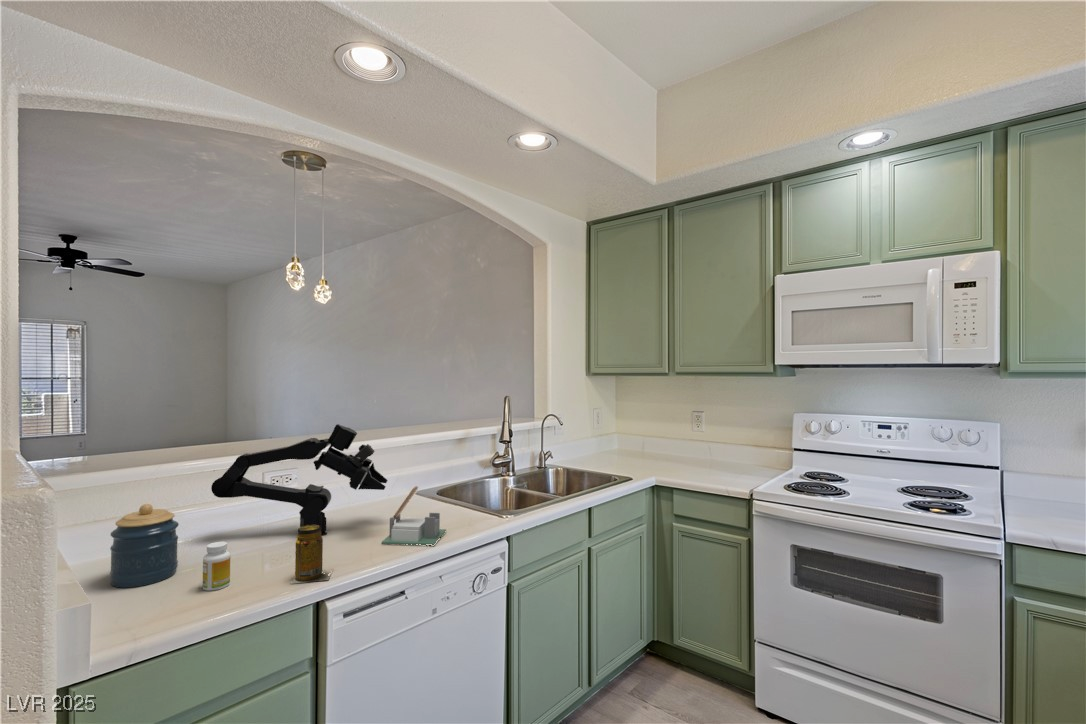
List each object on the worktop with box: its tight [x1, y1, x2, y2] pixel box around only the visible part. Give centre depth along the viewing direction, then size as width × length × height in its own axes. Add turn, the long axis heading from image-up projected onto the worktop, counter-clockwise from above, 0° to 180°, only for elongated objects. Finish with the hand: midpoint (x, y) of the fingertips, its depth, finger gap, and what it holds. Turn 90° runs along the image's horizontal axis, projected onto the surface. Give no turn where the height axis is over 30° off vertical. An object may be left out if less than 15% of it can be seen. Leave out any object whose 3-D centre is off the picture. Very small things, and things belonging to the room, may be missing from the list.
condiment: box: [289, 525, 334, 585], centre depth 123 cm, size 7×8×12 cm
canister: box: [109, 503, 180, 588], centre depth 122 cm, size 13×13×18 cm
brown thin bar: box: [392, 485, 419, 521], centre depth 152 cm, size 1×3×12 cm
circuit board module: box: [381, 512, 447, 546], centre depth 151 cm, size 16×13×7 cm
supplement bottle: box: [202, 541, 231, 592], centre depth 117 cm, size 5×5×10 cm
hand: (385, 484), depth 159 cm, fingers open, 9 cm apart
